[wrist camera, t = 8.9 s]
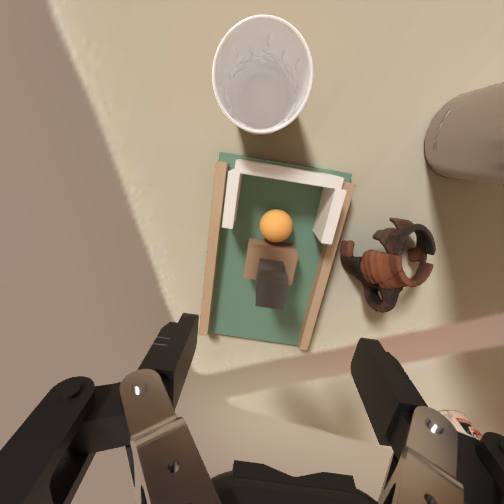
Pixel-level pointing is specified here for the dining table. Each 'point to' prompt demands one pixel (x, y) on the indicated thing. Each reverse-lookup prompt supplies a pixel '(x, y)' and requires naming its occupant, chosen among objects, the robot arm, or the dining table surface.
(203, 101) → the dining table surface
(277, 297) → the striker
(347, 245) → the pottery mug
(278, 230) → the ball
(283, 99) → the white cup
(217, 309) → the pitch
